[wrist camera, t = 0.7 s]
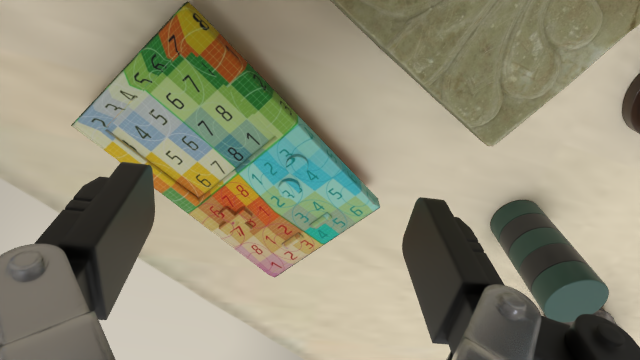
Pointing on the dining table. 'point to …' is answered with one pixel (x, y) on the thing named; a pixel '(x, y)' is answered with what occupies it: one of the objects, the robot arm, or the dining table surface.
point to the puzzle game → (226, 146)
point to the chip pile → (632, 106)
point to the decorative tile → (493, 50)
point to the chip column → (548, 262)
